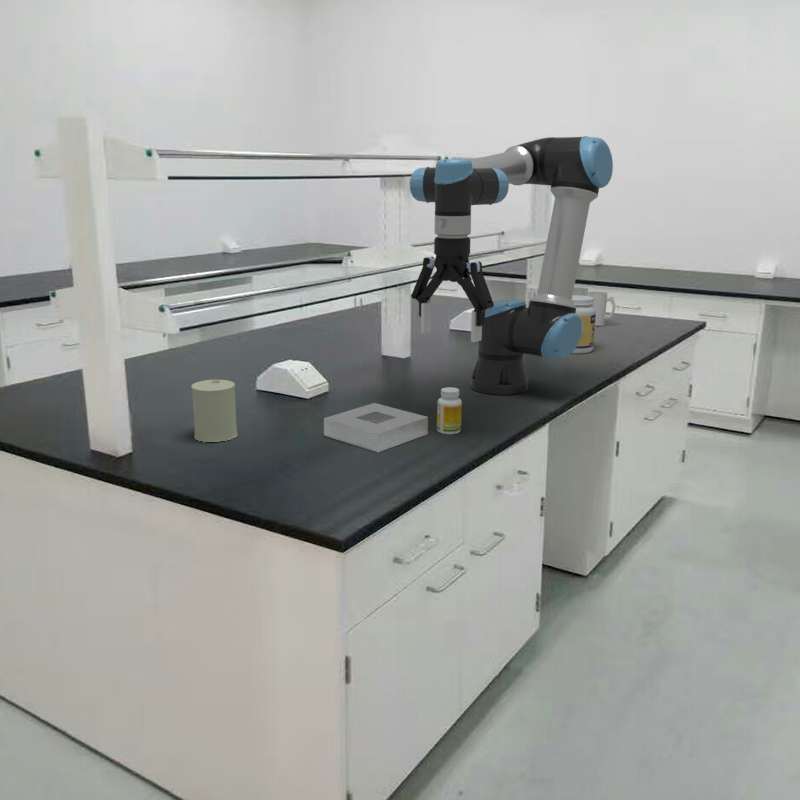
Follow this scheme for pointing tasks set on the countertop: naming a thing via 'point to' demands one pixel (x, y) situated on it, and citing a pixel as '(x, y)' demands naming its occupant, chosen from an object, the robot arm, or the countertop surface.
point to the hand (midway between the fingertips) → (450, 336)
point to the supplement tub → (585, 322)
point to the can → (214, 410)
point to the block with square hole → (375, 427)
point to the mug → (601, 306)
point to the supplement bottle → (449, 411)
